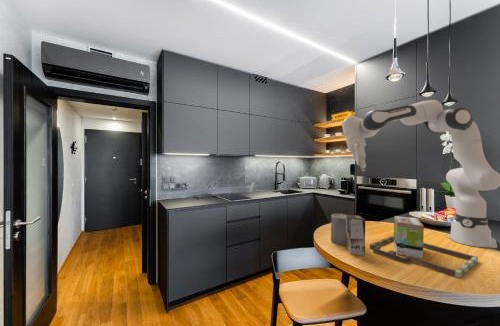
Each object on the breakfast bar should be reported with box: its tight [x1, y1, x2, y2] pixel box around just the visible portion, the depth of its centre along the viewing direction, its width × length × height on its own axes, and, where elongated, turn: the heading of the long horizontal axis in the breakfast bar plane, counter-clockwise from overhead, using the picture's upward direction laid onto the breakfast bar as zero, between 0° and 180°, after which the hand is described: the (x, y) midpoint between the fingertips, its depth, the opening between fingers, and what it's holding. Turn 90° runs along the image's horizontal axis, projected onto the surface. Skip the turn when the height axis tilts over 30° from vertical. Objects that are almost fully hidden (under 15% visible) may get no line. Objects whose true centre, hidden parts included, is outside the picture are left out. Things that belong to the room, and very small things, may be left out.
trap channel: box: [369, 234, 479, 279], centre depth 98 cm, size 28×32×2 cm
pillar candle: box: [330, 212, 347, 246], centre depth 115 cm, size 10×10×15 cm
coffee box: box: [345, 214, 366, 256], centre depth 103 cm, size 9×6×16 cm
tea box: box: [393, 215, 425, 259], centre depth 103 cm, size 15×10×15 cm, turn 151°
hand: (364, 169), depth 113 cm, fingers open, 8 cm apart
